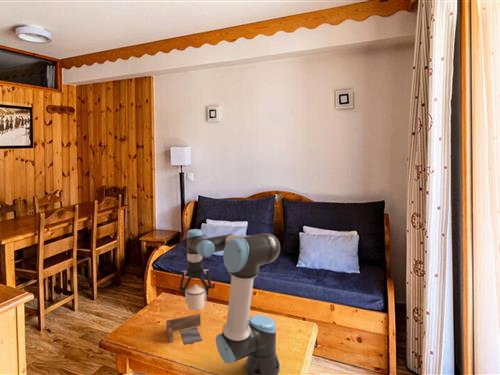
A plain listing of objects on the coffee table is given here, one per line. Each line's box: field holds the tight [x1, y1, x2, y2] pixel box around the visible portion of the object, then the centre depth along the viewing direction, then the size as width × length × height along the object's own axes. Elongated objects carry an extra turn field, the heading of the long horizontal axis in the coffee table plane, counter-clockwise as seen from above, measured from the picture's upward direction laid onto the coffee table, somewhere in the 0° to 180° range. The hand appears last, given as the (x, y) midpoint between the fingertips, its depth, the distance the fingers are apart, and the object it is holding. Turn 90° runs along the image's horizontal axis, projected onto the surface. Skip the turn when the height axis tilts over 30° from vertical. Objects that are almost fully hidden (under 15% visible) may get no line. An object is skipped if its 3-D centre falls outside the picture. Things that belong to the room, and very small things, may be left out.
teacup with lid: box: [186, 283, 205, 311], centre depth 166 cm, size 12×9×12 cm
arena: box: [165, 313, 203, 346], centre depth 168 cm, size 16×18×6 cm
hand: (196, 301), depth 167 cm, fingers closed on teacup with lid, 9 cm apart
